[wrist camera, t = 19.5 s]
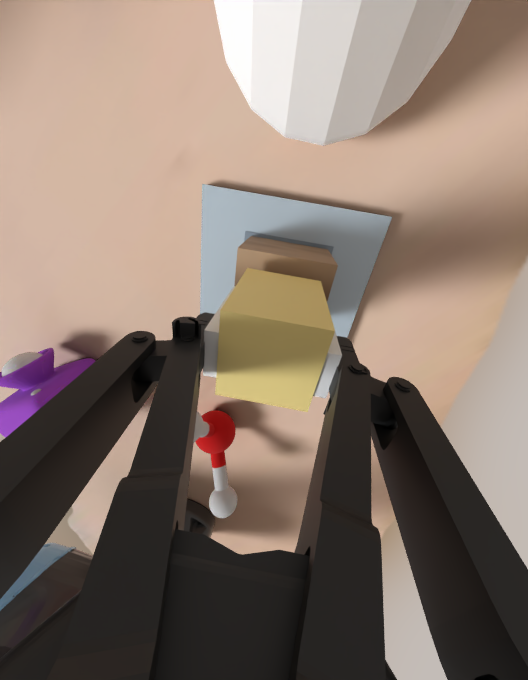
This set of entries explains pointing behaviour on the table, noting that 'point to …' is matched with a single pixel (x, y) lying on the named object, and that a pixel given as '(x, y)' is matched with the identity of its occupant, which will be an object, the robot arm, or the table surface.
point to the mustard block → (273, 340)
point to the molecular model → (217, 457)
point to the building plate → (294, 227)
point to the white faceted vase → (333, 59)
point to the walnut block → (286, 260)
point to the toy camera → (33, 385)
